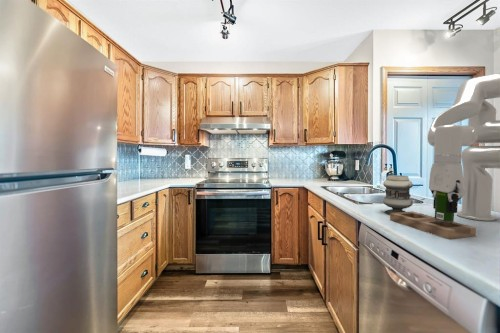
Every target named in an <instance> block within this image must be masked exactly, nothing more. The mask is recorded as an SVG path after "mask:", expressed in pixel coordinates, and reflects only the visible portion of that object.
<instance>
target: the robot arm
mask: <svg viewBox="0 0 500 333" xmlns="http://www.w3.org/2000/svg"><path fill="white" fill-rule="evenodd" d="M498 98H500V72H499V73H492V74H487V75H481V76H477V77H473V78H469V79H466V80H464V81H463V83H461V85H460V86H459V88H458V92H456V96H455V99H454V102H453V104H452V106H450V107H448V108H447V109H445V110H444V111H443V112H441V113H440V114H438V115H437V116H436V117H435V118H434V119H433V121H432V122H431V125H430V127H429V130H428V133H427V142H428V144H429V145H430V146H431V147H434V149H433V163H432V165H431V168H430V174H429V179H428V180H429V181H428V189H429V190H430V191H431V194H432V198H433V204H432V205H433V209H434V210H435V201H436V191H440V192H444V193H447V195H448V199H449V201H447V213H454V214H456V215H457V216H459V217H461V218H464V219H469V220H473V221H474V220H476V221H484V222H487V221H488V222H489V221H490V222H493V221H496V219H497V218H496V216H494V215H492V198H493V196H492V195H493V182H494V180H493V177H492V175H491V174H490V173H489V172H488V171H487V170H486V169H497V170H500V145H475V146H472V145H473V144H500V119H499V120H498V119H497V109H496V107H495V106H494V105H493V104H492V103H490V102H489V101H487V100H490V99H498ZM467 119H468V125H459V124H457V123H459V122H461V121H465V120H467ZM463 147H466V148H464V149H463V150H462V148H463ZM453 191H454V192H453ZM452 194H454V196H453V197H452ZM460 200H461V211H458V206H459V205H458V204H459V202H460Z"/></svg>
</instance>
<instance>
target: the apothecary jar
mask: <svg viewBox="0 0 500 333" xmlns="http://www.w3.org/2000/svg"><path fill="white" fill-rule="evenodd" d="M382 184H383V186H384V187H385V197H384V198H383V199H382V202H383V204H384V205H385V206H386V207H389V208H391V209H387V210H385V211H384V213H386V215H390V213H399V212H407V211H405V210H406V209H409V208H410V207H412V206H413V203H414V202H413V200H412V198H410V189H412V188H413V185H414V184H413V182H412V181H410V179H409V176H408V175H396V174H395V175H394V174H393V175H390V174H389V175H387V177H386V179H385V180H384V181H383V183H382Z"/></svg>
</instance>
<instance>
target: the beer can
mask: <svg viewBox="0 0 500 333" xmlns="http://www.w3.org/2000/svg"><path fill="white" fill-rule="evenodd" d="M453 192H454V191H453ZM453 196H454V194H452V197H453ZM447 201H449V199H448V195H447V193H444V192H440V191H436V201H435V209H434V217H435V220H436V221H438V222H443V223H452V222H455V221H454V220H455V213H447Z"/></svg>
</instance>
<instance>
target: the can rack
mask: <svg viewBox="0 0 500 333" xmlns="http://www.w3.org/2000/svg"><path fill="white" fill-rule="evenodd" d="M389 220H390V221H392V222H395V223H398V224H401V225H405V226H407V227H410V228H412V229H413V228H414V229H417V230H420V231H423V232H425V233H428V232H429V234H431V233H432V235H434V234H435V235H434V236H438V237H441V238H442V239H443V238H444V239H446V240H454V239H455V240H456V239H463V238H465V239H466V238H474V237H476V236H477V227H476V226H471V225H468V224H467V225H466V224H464V223H458V222H455V221H453V222H452V223H443V222H438V221H436V220H435V216H432V215H428V214H424V213H420V212H417V211H416V212H415V211H406V212H399V213H390V214H389Z"/></svg>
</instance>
